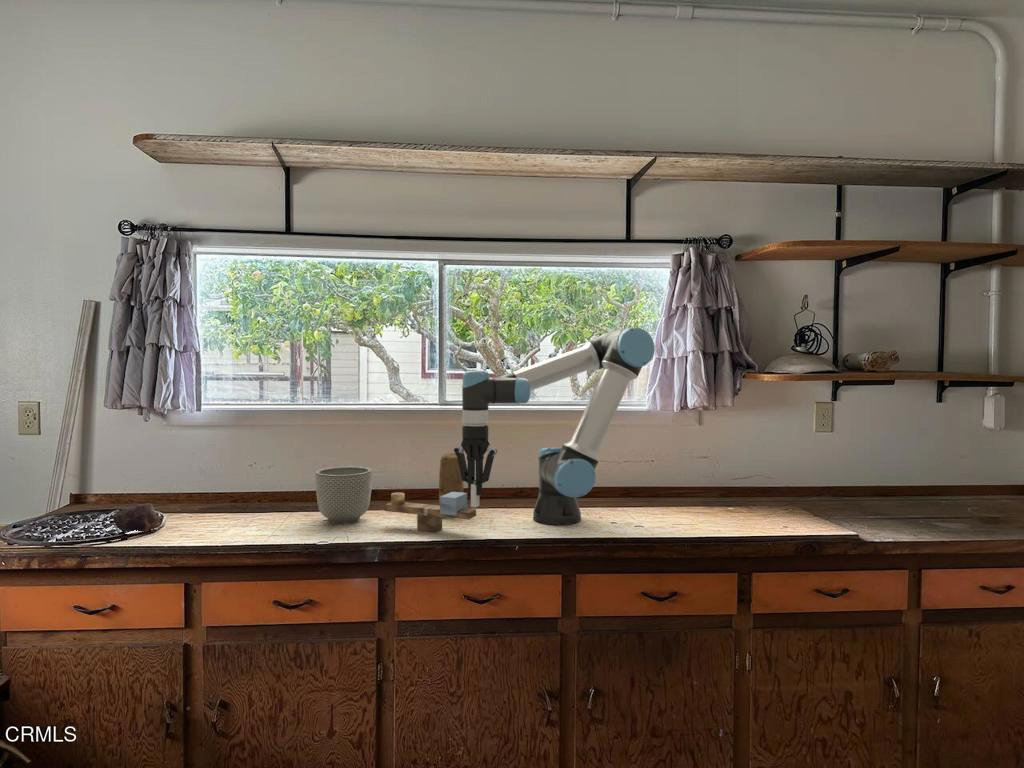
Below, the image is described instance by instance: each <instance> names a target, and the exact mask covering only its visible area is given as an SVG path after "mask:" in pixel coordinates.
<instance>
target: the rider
mask: <svg viewBox="0 0 1024 768" xmlns="http://www.w3.org/2000/svg"><path fill="white" fill-rule="evenodd" d="M463 508H468V492H463V493H461V492H450V493H448V494H445V495H443V496H440V514H446V515H457V511H459V510H461V509H463Z"/></svg>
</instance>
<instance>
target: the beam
mask: <svg viewBox="0 0 1024 768" xmlns="http://www.w3.org/2000/svg"><path fill="white" fill-rule="evenodd" d="M405 495H406V494H405V493H404V492H400V491H399V492H392V493H391V494H390V496H391V497H390V498H391V499H390V500H391V501H390V502H388V503H386V504H384V512H390V513H401V514H410V515H416V525H417V526H416V527H417V529H416V530H417V532H422V533H423V532H424V533H430V534H431V533H432V534H433V533H434V534H435V533H438V532H439V531H441V530H443V518H446V519H447V518H449V519H459V520H471V519H473V518H474V517H477V508H468V507H467V508H463V509H461V510H459V511H457V515H446V514H440V506H439V504H438V505H437V504H426V503H417V502H408V501H407V502H406V500H405V499H406V498H405V497H406V496H405Z"/></svg>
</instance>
